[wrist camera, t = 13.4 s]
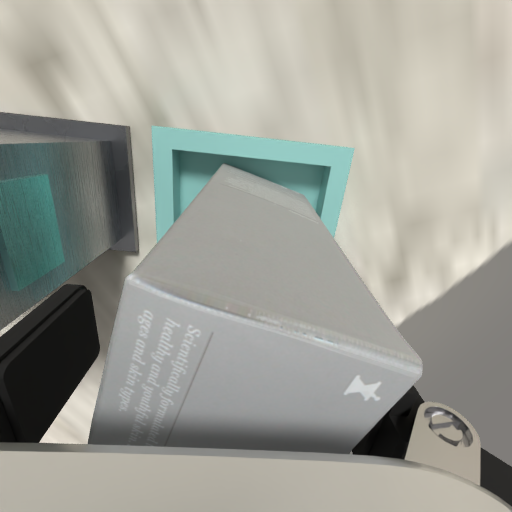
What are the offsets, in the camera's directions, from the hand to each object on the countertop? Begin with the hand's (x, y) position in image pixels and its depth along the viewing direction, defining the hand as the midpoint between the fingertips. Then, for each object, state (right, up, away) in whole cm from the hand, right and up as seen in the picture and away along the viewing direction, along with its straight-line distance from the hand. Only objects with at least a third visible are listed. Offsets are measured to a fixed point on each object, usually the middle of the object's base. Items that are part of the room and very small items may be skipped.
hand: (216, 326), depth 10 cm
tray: (+1, +5, +11) cm, 12 cm away
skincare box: (+1, +5, +11) cm, 11 cm away
